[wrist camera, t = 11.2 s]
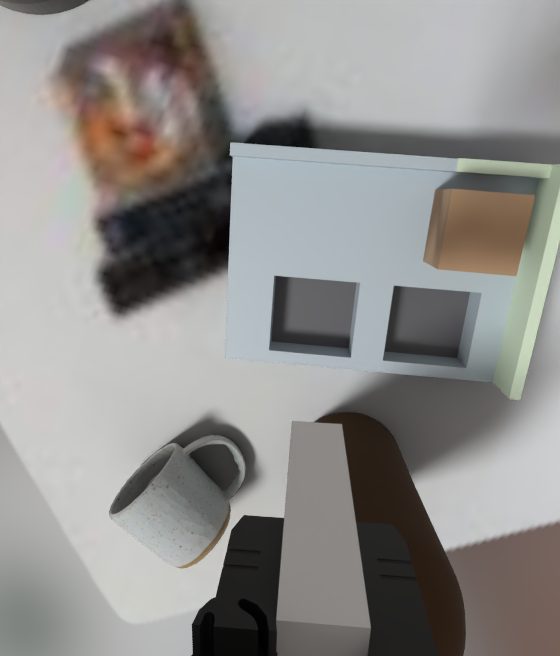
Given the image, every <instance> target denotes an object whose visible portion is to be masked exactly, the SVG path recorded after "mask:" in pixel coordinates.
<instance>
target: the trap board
mask: <svg viewBox="0 0 560 656" xmlns="http://www.w3.org/2000/svg"><path fill="white" fill-rule="evenodd" d="M230 155H231V156H232V157H233V166H232V192H231V217H230V242H229V267H228V293H227V318H226V343H225V358H229V359H240V360H250V361H261V362H272V363H283V364H294V365H305V366H316V367H327V368H338V369H349V370H360V371H371V372H382V373H393V374H403V375H414V376H425V377H436V378H447V379H458V380H469V381H480V382H491V383H493V384H494V385H495V386H496V387H497V388H498V389H499V390H500V391H501V392H502V393H503V394H504V395H505V396H506V397H507V398H508V399H512V400H520V399H521V395H522V391H523V387H524V383H525V379H526V375H527V371H528V367H529V363H530V359H531V355H532V351H533V347H534V343H535V339H536V335H537V331H538V327H539V323H540V319H541V315H542V311H543V307H544V303H545V299H546V295H547V291H548V287H549V283H550V279H551V274H552V270H553V266H554V262H555V258H556V254H557V250H558V246H559V242H560V164H555V165H551V164H537V163H523V162H509V161H495V160H481V159H466V158H458V159H456V158H442V157H428V156H414V155H400V154H386V153H372V152H357V151H343V150H329V149H315V148H301V147H287V146H273V145H258V144H244V143H230ZM442 189H462V190H475V191H487V192H500V193H512V194H525V195H535V199H534V203H533V208H532V212H531V216H530V221H529V225H528V229H527V234H526V238H525V242H524V246H523V251H522V255H521V259H520V264H519V268H518V272H517V276H507V275H495V274H484V273H472V272H461V271H450V270H438V269H436V268H434V267H433V266H431V265H429V264H427V263H425V262H423V258H424V252H425V246H426V240H427V234H428V228H429V222H430V216H431V211H432V205H433V199H434V193H435V190H442Z"/></svg>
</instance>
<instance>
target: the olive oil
mask: <svg viewBox="0 0 560 656" xmlns="http://www.w3.org/2000/svg"><path fill="white" fill-rule="evenodd" d="M315 423H332V424H342V429H343V436H344V443H345V450H346V457H347V464H348V471H349V478H350V485H351V492H352V499H353V506H354V513H355V520H356V522H364V523H378V524H391V525H393V526H394V527H395V528H396V529H397V531H398V532H399V533H400V534H401V536H402V537H403V538H404V540H405V541H406V543H407V546H408V550H409V553H410V557H411V561H412V565H413V568H414V571H415V575H416V581H417V582H418V585H419V589H420V593H421V596H422V600H423V603H424V607H425V610H426V614H427V617H428V621H429V625H430V628H431V632H432V635H433V639H434V642H435V646H436V648H437V651H438V653H439V656H463V654H464V649H465V636H466V630H465V629H466V628H465V610H464V603H463V598H462V593H461V590H460V586H459V583H458V580H457V578H456V575H455V573H454V571H453V568H452V567H451V564H450V562H449V560H448V558H447V556H446V553H445V551H444V549H443V547H442V545H441V543H440V540H439V538H438V536H437V534H436V532H435V530H434V527H433V525H432V523H431V521H430V519H429V517H428V514H427V512H426V510H425V508H424V505H423V503H422V501H421V499H420V496H419V494H418V492H417V490H416V488H415V485H414V483H413V481H412V479H411V476H410V474H409V472H408V469H407V467H406V464H405V462H404V459H403V457H402V454H401V452H400V450H399V447H398V445H397V443H396V441H395V439H394V437H393V436H392V434H391V433H390V432H389V430H388V429H387V428H386V427H385V426H383V425H382V424H381V423H380V422H378V421H376V420H375V419H373V418H371V417H368V416H365V415H362V414H357V413H338V414H333V415H329V416H327V417H324V418H322V419H320V420H318V421H317V422H315Z"/></svg>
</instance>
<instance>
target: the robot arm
mask: <svg viewBox="0 0 560 656" xmlns="http://www.w3.org/2000/svg"><path fill="white" fill-rule="evenodd" d="M86 1H87V0H0V5H1V6H3V7H6V8H8V9H11V10H14V11H18V12H22V13H27V14H36V15H45V14H54V13H60V12H63V11H67V10H69V9H72V8H75V7H77V6H79V5H81V4H82V3H84V2H86ZM192 638H193V639H192V640H193V655H192V656H439V653H438V651H437V648H436V646H435V642H434V639H433V635H432V632H431V628H430V625H429V621H428V617H427V614H426V610H425V607H424V603H423V600H422V596H421V593H420V589H419V585H418V582H417V581H416V575H415V571H414V568H413V565H412V561H411V557H410V553H409V550H408V546H407V543H406V541H405V540H404V538H403V537H402V536H401V534H400V533H399V532H398V531H397V529H396V528H395V527H394V526H393V525H391V524H378V523H364V522H356V520H355V513H354V506H353V499H352V492H351V485H350V478H349V471H348V464H347V457H346V450H345V443H344V436H343V429H342V424H332V423H315V422H299V421H292V427H291V440H290V452H289V465H288V477H287V490H286V503H285V515H284V518H275V517H261V516H248V515H244V516H243V517H242V518H241V519H240V520H239V522H238V523H237V524H236V525H235V527H234V528H233V529H232V530H231V535H230V539H229V543H228V547H227V552H226V556H225V560H224V565H223V569H222V573H221V577H220V581H219V586H218V590H217V594H216V597H215V598H213V599H211V600H209V601H208V602H207V603H206V604H205V605H204V606H203V607H202V608H201V609H200V610H199V611H198V613H197V615H196V618H195V620H194V622H193V624H192Z"/></svg>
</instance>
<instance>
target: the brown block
mask: <svg viewBox="0 0 560 656" xmlns="http://www.w3.org/2000/svg"><path fill="white" fill-rule="evenodd" d="M534 199H535V195H525V194H512V193H500V192H487V191H475V190H462V189H442V190H435V193H434V199H433V205H432V211H431V216H430V222H429V228H428V234H427V240H426V246H425V252H424V258H423V262H425V263H427V264H429V265H431V266H433V267H434V268H436V269H438V270H450V271H461V272H472V273H484V274H495V275H507V276H517V272H518V268H519V264H520V259H521V255H522V251H523V246H524V242H525V238H526V234H527V229H528V225H529V221H530V216H531V212H532V208H533V203H534Z"/></svg>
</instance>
